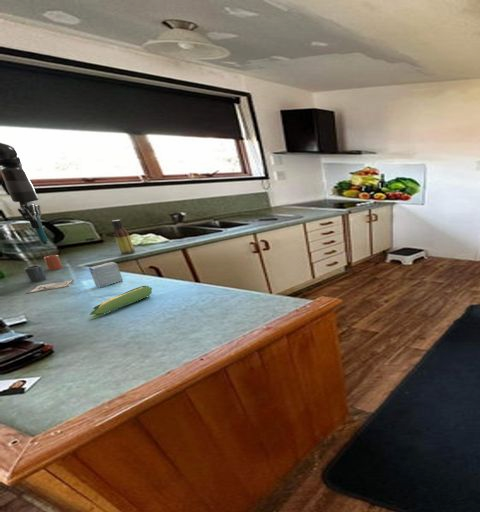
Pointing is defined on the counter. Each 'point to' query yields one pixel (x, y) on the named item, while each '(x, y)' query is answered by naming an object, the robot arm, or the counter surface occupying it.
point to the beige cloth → (51, 286)
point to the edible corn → (121, 300)
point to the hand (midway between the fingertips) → (37, 227)
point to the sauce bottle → (122, 238)
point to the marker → (41, 233)
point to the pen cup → (53, 262)
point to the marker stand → (35, 273)
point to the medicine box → (105, 274)
